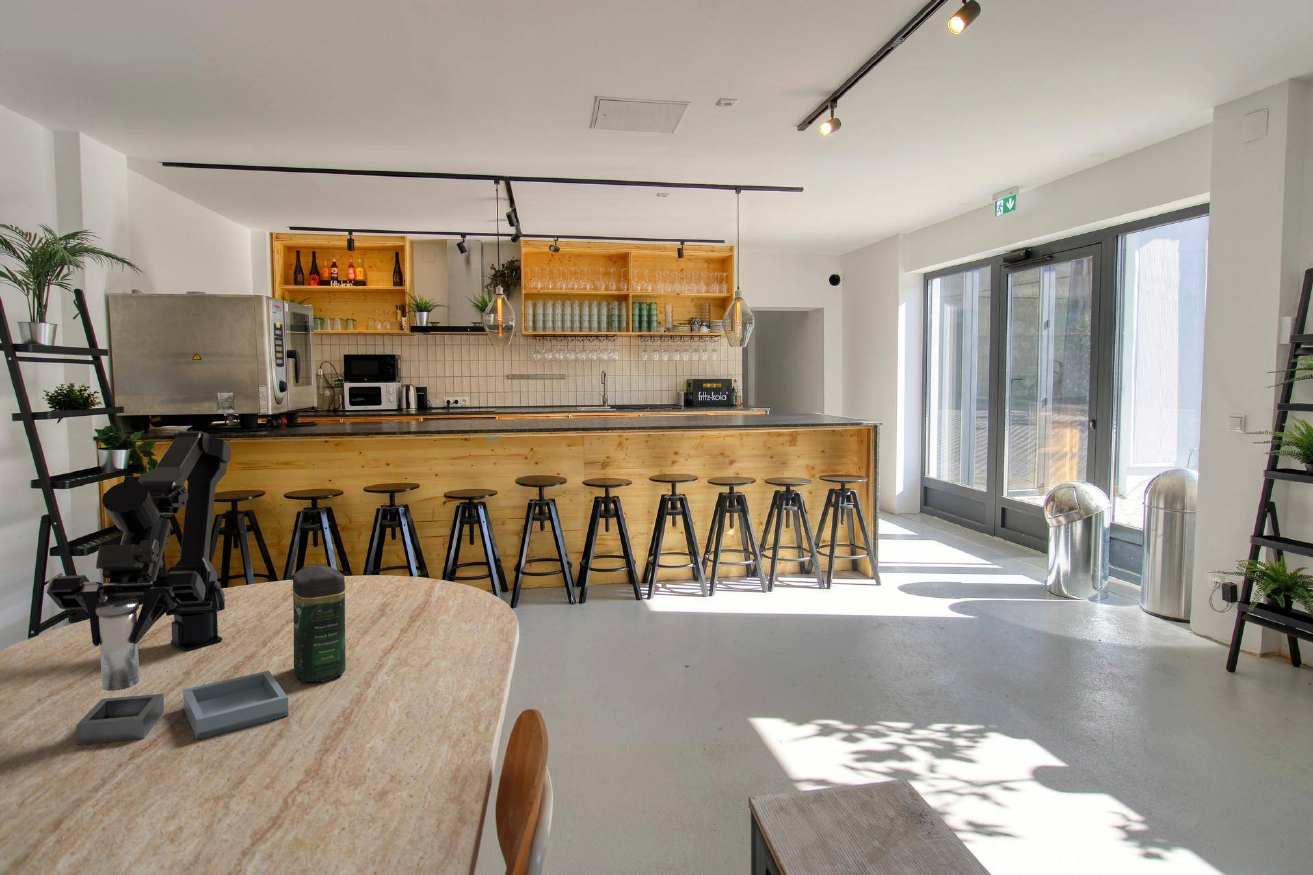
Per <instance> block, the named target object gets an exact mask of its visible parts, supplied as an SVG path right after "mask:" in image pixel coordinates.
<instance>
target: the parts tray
mask: <svg viewBox="0 0 1313 875" xmlns="http://www.w3.org/2000/svg"><path fill="white" fill-rule="evenodd" d="M182 690H183V692H182V693H183V698H182V699H183V709H184V711H185V714H186V716H187V719H188V722H189V725H190V727H191V729H192V731H193V734H194V737H195V739H196V740H197V741H199V740H203V739H206V738H210V737H213V736H218V735H222V734H225V733H229V732H234V731H237V730H241V729H244V728H248V727H252V726H253V727H254V726H256V725H259V724H258V723H260V724H264V723H266V721H268V722H270V720H272V721H274V720H273V719H275V720H278V719H277V718H279V719H282V718H281V717H283V718H285V717H284V716H287V717H289V696H288V695H287V694H286V692H285V691H284V690H283V688H282V687H281V685H280V684H279V683H278V681H277V680H276V679H275V677H274V676H273V675H272V672H271V671H270V670H265V671H260V672H256V673H251V674H247V675H246V674H245V675H242V676H239V677H234V678H229V679H225V680H220V681H216V682H211V683H207V684H203V685H197V686H194V687H190V688H184V689H182Z"/></svg>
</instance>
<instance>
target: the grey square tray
mask: <svg viewBox="0 0 1313 875" xmlns="http://www.w3.org/2000/svg"><path fill="white" fill-rule="evenodd" d="M164 695H165V694H164V693H157V694H155V693H154V694H143V695H132V696H121V697H119V696H118V697H107V698H101V699H100V700H99V701H98V702H97V703H96V704H95V705H94V706H93V707H92V708H91V709H89V711H88V712H87V713H86V715H84V716H83V717H82V718H81V719H80V720H79V722H77V724H76V736H77V737H76V740H77V742H76V743H77V746H80V745H91V744H94V745H95V744H102V743H114V742H121V741H122V742H123V741H133V740H143V739H145V738H146V737H147V736H148V734H149V733H150V731H151V730H152V729H153V728H154V726H155V725H156V724H157V722H158V721H159V720H160V718H161V717H162V716H163V715H164V713H165V701H164V699H165V698H164V697H165V696H164ZM162 714H163V715H162Z"/></svg>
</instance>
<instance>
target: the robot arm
mask: <svg viewBox="0 0 1313 875" xmlns="http://www.w3.org/2000/svg"><path fill="white" fill-rule="evenodd" d="M231 458H232V449H231V446H230V445H229V444H228V443H227V442H226V441H225V439H221V438H218V437H214V436H212V435H209V433H207V432H203V431H198V430H196V431H194V430H193V431H192V430H191V431H189V430H188V431H183V430H181V431H180V430H179V431H178V432H174V433H173V436H172V442H171V444H170V445H169V446H168V448H167V449H166V451H165V453H163V456H162V457H161V459H160V460H159V462H158V463H157V465H156V466H155V468H154V469H151V470H149V471H147V472H144V473H141V474H140V475H136V476H135V475H129V476H124V480H123V481H122V482H119V483H116V484H115V485H113V486H111V487H110V488H109V489H108V490H106V492H104V493H103V496H102V499H101V503H102V505H103V507H104V508H105V510H106V512H107V513H108V515H109V517H110V518H111V520H112V521H113V522H114V524H115V526H116V527H117V529H118V530H120V531H121V532H123V533H122V537H121V541H120V544H110V545H107V544H106V545H104V544H103V545H99V546H98V551H97V558H96V564H95V569H96V570H100V569H101V570H103V571H102V577H103V578H104V579H109V580H108V582H107V583H105V582H104V583H102V582H99V581H90V580H89V578H88V577H87V576H86V575H83V574H81V575H79V574H78V575H58V576H56V577H55V578H53V579H52V580H51V581H50V582H49V584H48V587H47V589H46V594H47V595H48V596H49V598H51V599H52V601H53V602H54V603H55V604H56V605H57V606H58V608H59V609H62V610H64V611H65V610H66V611H67V610H68V611H69V610H84V611H85V612H86V613H87V614H88V618H89V623H90V624H89V625H90V633H91V641H92V644H93V646H94V647H100V634H99V616H98V615H96V605H98V604H100V603H102V602H105V601H108V597H124V596H125V597H127V596H143V598H142V601H143V602H142V605H141V609H140V611H139V615H138V617H137V623H136V626H135V628H134V632H133V637H132V642H133V643H134V644H137V643H138V644H139V641H141V640H142V639H143V637H144V636H145V635H146V634H147V632H148V631H149V630H150V629H151V628H152V627H153V625H154V624H155V623H156V622H157V621H159V619H160V618H162V617H163V616H164V615H166V617H169V616H173V621H171V640H170V644H172V645H174V646H176V647H179V648H180V649H182V650H185V651H191V650H193V649H194V650H195V649H198V648H201V647H205V646H209V645H211V644H215V643H218V642H219V643H220V642H222V641H223V637H222V636H220V635H219V632H218V630H219V629H218V627H219V626H218V612H221V611H223V610H225V609H226V598H225V592H224V590H223V588H222V587H221V584H220V582H219V581H218V572H217V571H216V569H215V568H214V566H213V565H212V563H211V561H210V552H211V551H210V550H211V538H212V530H213V527H212V526H213V518H214V507H215V506H214V505H215V496H216V486H217V484H219V482H220V481H221V480H222V479H223V478H224V476H225V475H226V473H227V469H228V464H229V463H230V462H231ZM186 482H187V487H186V486H185V483H186ZM183 507H184V517H183V518H184V519H183V525H182V526H183V529H182V538H181V545H180V546H181V547H180V557H179V559H178V560H177V562H176V563H175V564H174V566H170V567H169V568H168V570H167V573H166V578H165V580H157V577H158V573H159V569H162V568H163V566H164V561H163V559H162V558H163V554H164V550H165V546H166V542H167V538H170V537H171V530H170V527H171V523H170V521H169V520H168V518H167V517H166V516H164V515H176V514H179V513H180V512H181V510H182V508H183Z"/></svg>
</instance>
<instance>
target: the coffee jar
mask: <svg viewBox="0 0 1313 875" xmlns="http://www.w3.org/2000/svg"><path fill="white" fill-rule="evenodd" d="M292 599H293V600H292V601H293V602H292V604H293V606H292V607H293V670H294V673H295V675H296V676H297V677H298V679H300V681H302V682H318V681H321V682H324V681H323V680H327V681H329V680H328V679H330V680H332V679H334V678H337V677H338V675H339V676H341V675H343V674H344V672H345V671H346V665H347V664H346V663H347V661H346V658H347V657H346V582H345V576H344V575H343V573H342V572H340V571H339V570H338V569H336V568H333V567H331V566H328V565H327V564H317V565H308V566H302V567H301V569H299V570H298V571H296V572H295V573H294V575H293V578H292ZM342 673H343V674H342ZM331 678H332V679H331Z"/></svg>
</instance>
